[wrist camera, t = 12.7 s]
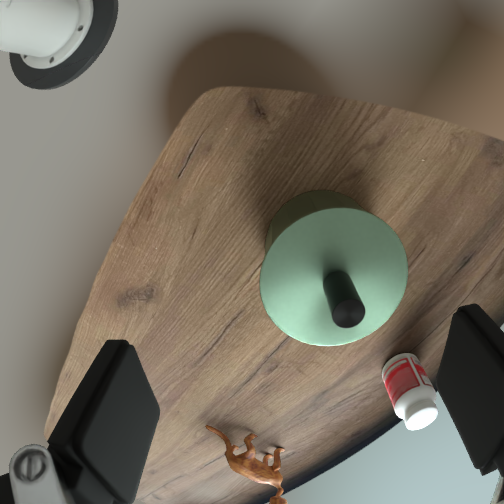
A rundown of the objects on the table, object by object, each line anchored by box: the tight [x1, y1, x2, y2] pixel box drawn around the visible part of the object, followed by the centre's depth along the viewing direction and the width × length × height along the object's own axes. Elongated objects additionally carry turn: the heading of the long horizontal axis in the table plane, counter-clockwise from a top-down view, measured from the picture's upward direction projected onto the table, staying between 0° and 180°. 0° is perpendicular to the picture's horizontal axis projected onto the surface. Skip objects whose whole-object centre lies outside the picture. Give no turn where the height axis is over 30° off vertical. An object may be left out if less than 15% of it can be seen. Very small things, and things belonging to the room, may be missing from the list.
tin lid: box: [260, 206, 408, 346], centre depth 26 cm, size 14×14×6 cm
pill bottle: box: [382, 353, 438, 430], centre depth 38 cm, size 6×6×11 cm
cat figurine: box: [205, 425, 287, 504], centre depth 45 cm, size 18×7×14 cm, turn 52°
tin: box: [265, 190, 364, 254], centre depth 33 cm, size 13×13×10 cm
